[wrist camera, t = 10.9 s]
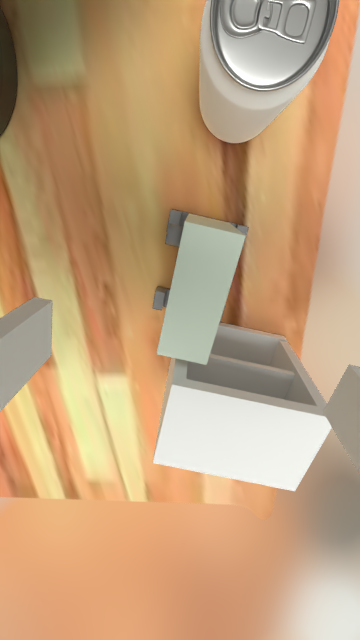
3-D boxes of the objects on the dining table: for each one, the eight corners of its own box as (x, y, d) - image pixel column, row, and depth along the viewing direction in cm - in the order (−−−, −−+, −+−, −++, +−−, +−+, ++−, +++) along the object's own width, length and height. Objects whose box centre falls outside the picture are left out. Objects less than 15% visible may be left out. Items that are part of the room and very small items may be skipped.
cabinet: (172, 209, 27) (152, 218, 15) (322, 243, 28) (418, 278, 16) (142, 366, 34) (114, 455, 23) (261, 391, 35) (294, 491, 23)
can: (207, 41, 22) (218, -116, 11) (288, 57, 22) (377, -81, 11) (192, 136, 25) (188, 87, 14) (264, 151, 25) (317, 113, 14)
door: (176, 210, 27) (166, 217, 18) (229, 222, 27) (245, 235, 18) (157, 305, 31) (141, 350, 22) (203, 315, 31) (206, 365, 22)
